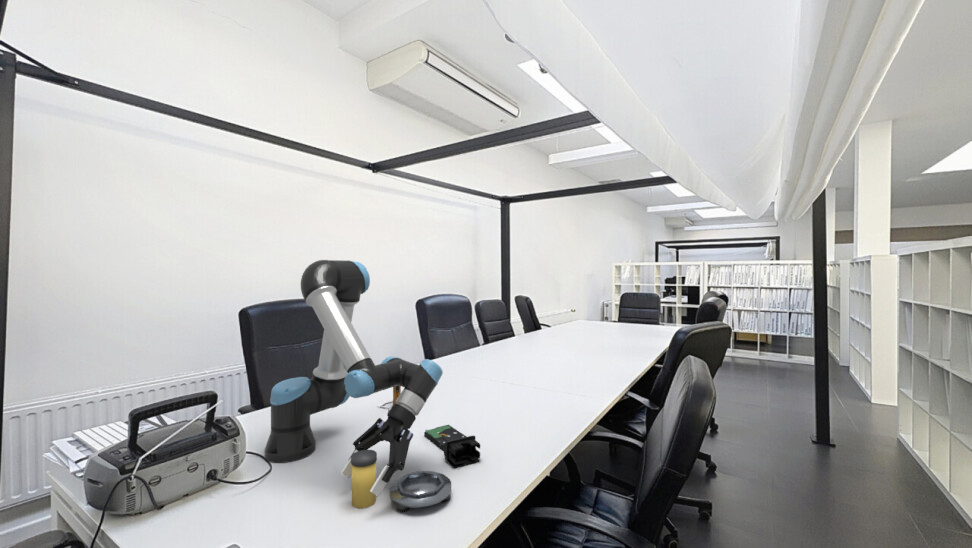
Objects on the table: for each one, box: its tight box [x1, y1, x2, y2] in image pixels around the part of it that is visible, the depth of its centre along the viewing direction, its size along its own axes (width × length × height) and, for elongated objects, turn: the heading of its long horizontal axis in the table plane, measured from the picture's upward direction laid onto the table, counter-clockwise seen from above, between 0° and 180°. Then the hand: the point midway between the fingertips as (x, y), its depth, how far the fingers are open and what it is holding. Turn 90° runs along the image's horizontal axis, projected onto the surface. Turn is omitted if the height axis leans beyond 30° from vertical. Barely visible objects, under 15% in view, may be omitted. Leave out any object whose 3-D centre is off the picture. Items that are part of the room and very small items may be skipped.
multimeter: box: [376, 386, 402, 412], centre depth 173 cm, size 15×10×20 cm
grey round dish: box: [389, 470, 452, 513], centre depth 104 cm, size 16×16×4 cm
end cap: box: [442, 435, 481, 470], centre depth 124 cm, size 10×7×7 cm
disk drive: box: [423, 424, 468, 452], centre depth 140 cm, size 10×3×15 cm
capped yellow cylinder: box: [350, 449, 378, 509], centre depth 102 cm, size 6×6×12 cm
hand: (358, 484), depth 100 cm, fingers open, 13 cm apart
